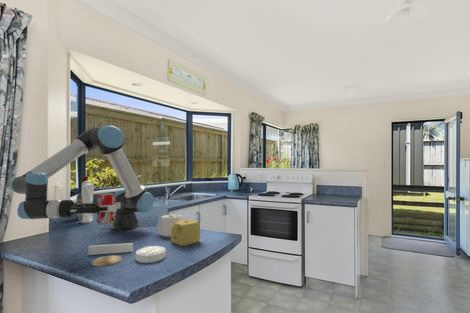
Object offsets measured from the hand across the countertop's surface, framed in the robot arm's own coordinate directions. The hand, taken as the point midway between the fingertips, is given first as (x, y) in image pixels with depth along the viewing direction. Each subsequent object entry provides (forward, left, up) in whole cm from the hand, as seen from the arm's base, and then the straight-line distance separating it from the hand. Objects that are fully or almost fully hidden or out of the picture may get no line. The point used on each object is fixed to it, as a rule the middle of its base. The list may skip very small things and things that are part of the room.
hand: (118, 206), depth 120 cm
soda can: (+4, -3, -7) cm, 9 cm away
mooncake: (-8, +17, -20) cm, 28 cm away
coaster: (+7, +9, -20) cm, 23 cm away
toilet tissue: (-31, -10, -20) cm, 38 cm away
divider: (+3, -1, -20) cm, 20 cm away
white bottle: (-5, -78, -20) cm, 81 cm away
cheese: (-30, +8, -20) cm, 37 cm away
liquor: (-7, -93, -20) cm, 96 cm away
